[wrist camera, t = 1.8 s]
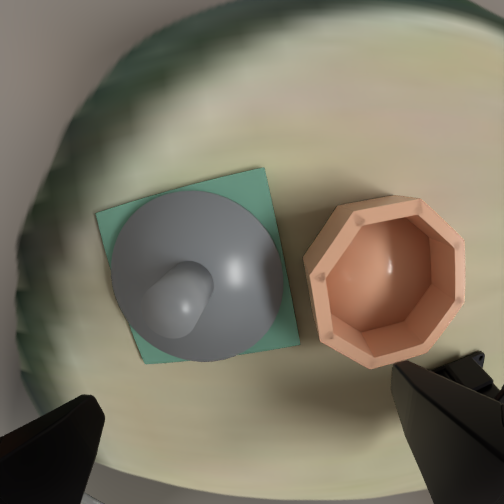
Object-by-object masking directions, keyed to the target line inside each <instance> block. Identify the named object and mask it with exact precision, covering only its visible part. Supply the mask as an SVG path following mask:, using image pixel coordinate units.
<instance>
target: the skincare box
mask: <svg viewBox="0 0 504 504" xmlns="http://www.w3.org/2000/svg"><path fill="white" fill-rule="evenodd" d="M81 504H104V503H102V502H100V501H99V500H97V499H95V498H93V497H91V496H90V495H88V494H86V493H85V492H84V495H83V498H82V501H81Z"/></svg>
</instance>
